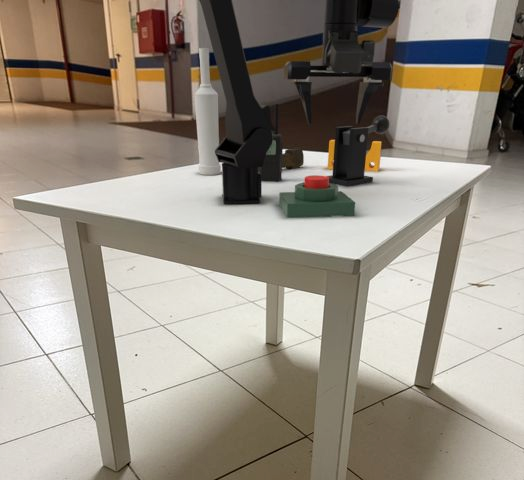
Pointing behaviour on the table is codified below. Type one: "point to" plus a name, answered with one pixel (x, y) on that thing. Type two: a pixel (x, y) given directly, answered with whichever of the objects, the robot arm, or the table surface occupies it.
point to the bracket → (350, 157)
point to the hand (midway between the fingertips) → (333, 124)
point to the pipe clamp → (370, 156)
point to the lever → (371, 128)
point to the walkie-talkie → (273, 156)
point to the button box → (316, 202)
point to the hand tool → (292, 158)
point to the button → (316, 182)
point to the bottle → (207, 119)
